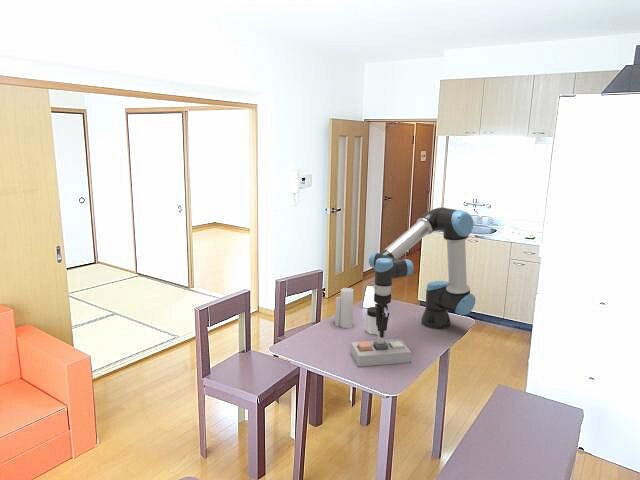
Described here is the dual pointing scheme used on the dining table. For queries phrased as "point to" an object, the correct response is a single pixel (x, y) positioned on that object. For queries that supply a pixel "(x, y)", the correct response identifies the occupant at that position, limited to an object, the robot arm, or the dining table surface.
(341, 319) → the grey stepped double column
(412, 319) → the dining table surface
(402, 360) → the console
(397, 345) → the ivory key
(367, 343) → the terracotta key
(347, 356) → the dining table surface
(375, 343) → the charcoal key
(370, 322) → the jar
